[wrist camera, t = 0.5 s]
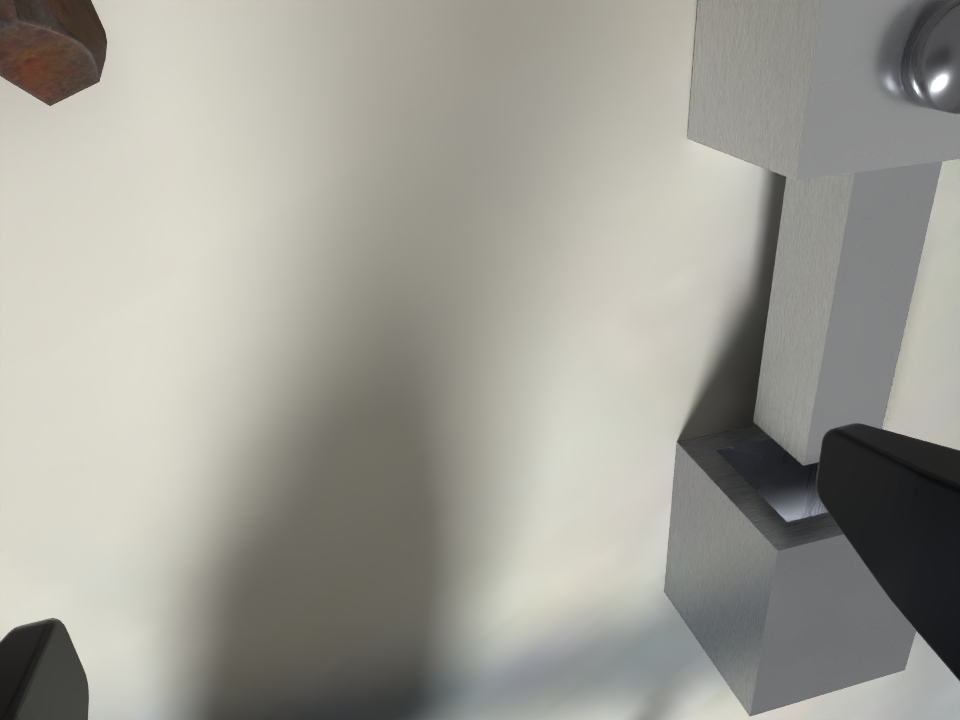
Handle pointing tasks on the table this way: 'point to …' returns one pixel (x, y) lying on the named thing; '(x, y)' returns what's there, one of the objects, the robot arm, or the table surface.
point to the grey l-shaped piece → (833, 183)
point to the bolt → (51, 46)
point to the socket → (773, 576)
